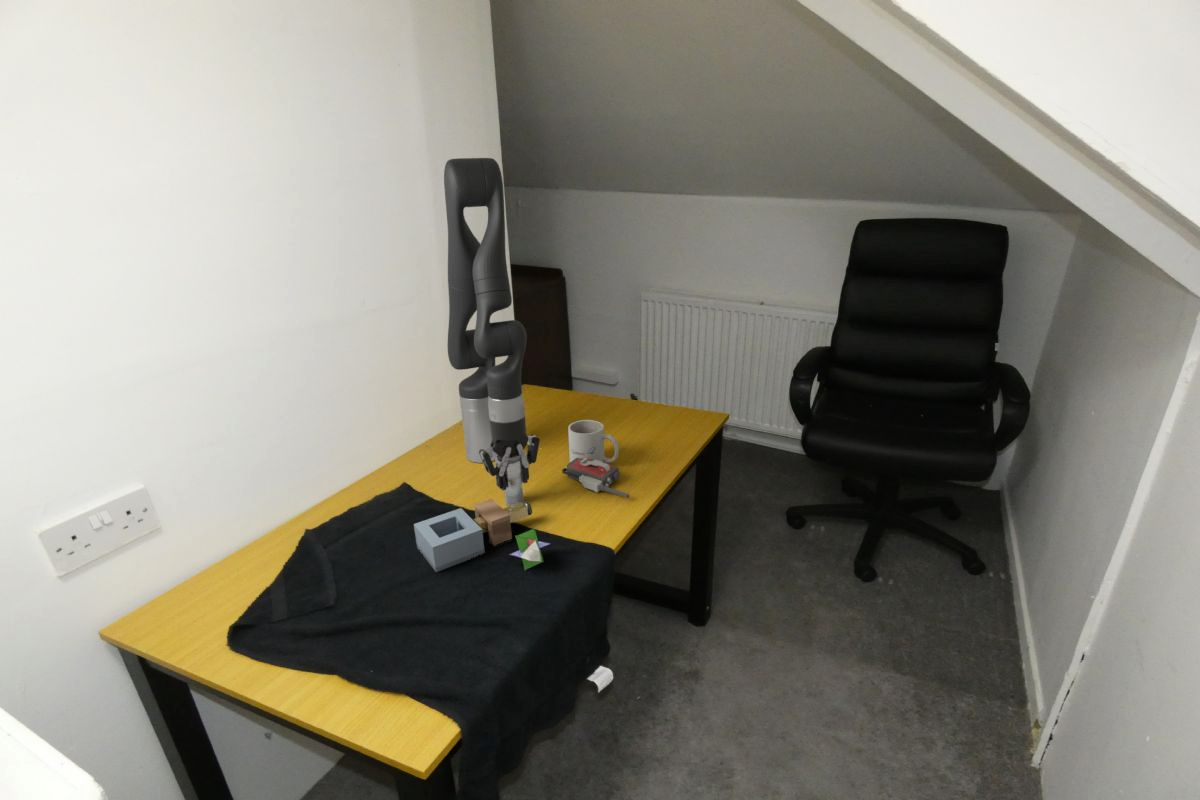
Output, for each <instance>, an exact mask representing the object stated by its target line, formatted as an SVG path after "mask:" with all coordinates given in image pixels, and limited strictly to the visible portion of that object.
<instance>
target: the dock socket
mask: <svg viewBox="0 0 1200 800" xmlns="http://www.w3.org/2000/svg"><path fill="white" fill-rule="evenodd" d="M413 528H414V529H413V530H414V534H415V535H414V536H415V543H416V547H417V550H418V551H419V550H420V551H419V553H421V555H422V554H423V555H422V556H423V558H424V559H425V560H426V561H427V562H428V564H429V565H430V566H431V568H432V569H433V570H434V571H435V572H436V573H438V572H441V571H443V570H445V569H448V568H451V567H454V566H456V565H459V564H462V563H464V562H466V561H469V560H472V559H474V558H477V557H479V556H478V555H480V556H482V555H484V554H483V553H485V554H486V551H485V545H484V533H482V529H481V528H480V527H479V526H478V525H477V524H476V523H475V522H474V519H472V517H470V516H469V515H468V514H467V513H466V511H464V509H463V508H462V507H461V508H457V509H454V510H451V511H448V512H445V513H442V514H440V515H436V516H434V517H430V518H428V519H425V520H421V521H419V522H416V523H414V524H413ZM481 554H482V555H481ZM476 556H477V557H476ZM473 557H474V558H473ZM471 558H472V559H471Z"/></svg>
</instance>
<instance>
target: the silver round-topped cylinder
mask: <svg viewBox="0 0 1200 800" xmlns="http://www.w3.org/2000/svg"><path fill="white" fill-rule="evenodd" d="M521 459H522V458H521V455H519V454H517V455H514V456H510V457H509V459H507V462H508V464H507V466H506V467H505V471H504V475H505V480H506V490H504V497H505V505H506V506H507V507H509V506H512V505H515V504H518V503H521V502H525V499H524V488H523V487H524V486H523V482H522V474H521V461H520V460H521ZM500 460H501V461H502V458H500Z"/></svg>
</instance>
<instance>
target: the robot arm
mask: <svg viewBox="0 0 1200 800" xmlns="http://www.w3.org/2000/svg"><path fill="white" fill-rule="evenodd" d="M443 185H444V187H443V188H444V198H445V199H444V200H445V211H446V213H445V214H446V222H447V288H448V302H449V306H448V307H449V309H448V310H449V311H448V312H449V313H448V326H447V327H448V330H447V331H448V332H447V356H448V361H449V364H450V365H451V367H453V369H454V370H461V371H462V370H469V369H471V370H472V369H476V368H477V369H476V371H474V373H471V375H470V376H468V377H466V378H464V379H462V380H461V381H460V383H459V384H458V393H459V401H460V402H459V404H460V410H461V418H462V428H463V436H464V446H465V455H466V459H467V460H468V461H469V462H472V463H478V464H479V463H480V464H483V465H484V469H485V471H486V473H488V474H489V475H490V476H492V477H495V483H496V486H497V487H498V488H499V489H500V490H502V492H503V491H504V492H505V490H506V480H505V475H504V471H505V467H506V466H507V464H508V462H507V459H509V457H510V456H514V455H517V454H519V455H521V458H522V459H521V460H520V461H521V474H522V484H527V483H528V480H529V479H530V471H529V467H530V465H532V464H535V463H536V462H537V457H538V453H539V446H540V442H541V439H540V438H539V437H538V436H537V435H535V434H534V433H532V434H530V435H527V425H526V407H525V401H524V396H523V387H522V386H523V385H522V368H523V360H524V356H525V353H526V352H525V351H526V349H527V341H528V340H527V339H528V335H527V331H526V328H525V326H524V325H523V324H522V323H521V322H520V321H518V320H515V319H513V320H503V321H495V322H490V321H491V317H492V315H493V314H494V313H497V312H498V311H503V310H505V309H507V308H510V306H511V305H512V303H513V302H512V292H511V285H510V278H509V273H508V264H507V256H506V255H507V254H506V223H505V222H506V219H505V217H506V216H505V197H504V182H503V176H502V171H501V168H500V166H499V163H498V162H497V160H495V159H494V158H492V157H469V158H467V157H466V158H465V157H463V158H451V159H449V160H447V161H446V163H445V165H444V170H443ZM475 207H476V208H477V207H487V224H486V228H485V232H484V234H483V237H482V240H481V242H480V241H479V240H478V239H477V237H476V236H475V235H474V233H473V232H472V230H471V229H470V226H469V225H468V223H467V220H466V219H465V215H464V214H465V213H464V212H465V211H464V209H465V208H475ZM475 313H476V321H475V329H467V328H468V325H469V322H470V321H471V319H472V318H473V316H474V314H475ZM501 357H507V358H506V359H505V360H504V361H503V362H501V363H498V364H496V358H501ZM527 445H528V446H527ZM526 446H527V449H526V450H527V451H526V452H525V448H526ZM500 458H502V461H501V460H500ZM494 461H495V462H494ZM493 462H494V463H495V465H494V464H493Z"/></svg>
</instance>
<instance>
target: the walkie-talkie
mask: <svg viewBox="0 0 1200 800" xmlns="http://www.w3.org/2000/svg"><path fill="white" fill-rule="evenodd" d="M561 473H562V474H564V475H567V478H570V479H572V480H576V481H578V482H581V484H582V486H583V488H585V489H589V490H591V491H594V492H596V493H599V492H600V491H602V492H607V493H610V494H612V495H616V496H621V497H624V498H627V499H630V494H628V493H626V492H623V491H620V490H617V489H614V488H612V487H610V486H611V484H612V483H614V482H615V481H619V479H620V477H621V473H620V469H619V467H617V466H614V465H611V464H610V463H605V462H603V463H602V461H599V460H593V459H587V458H585V459H584V458H576V459H574V460H573V461H571V462H570V461H569V463H567V465H566V467H564V468H562V470H561Z"/></svg>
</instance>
